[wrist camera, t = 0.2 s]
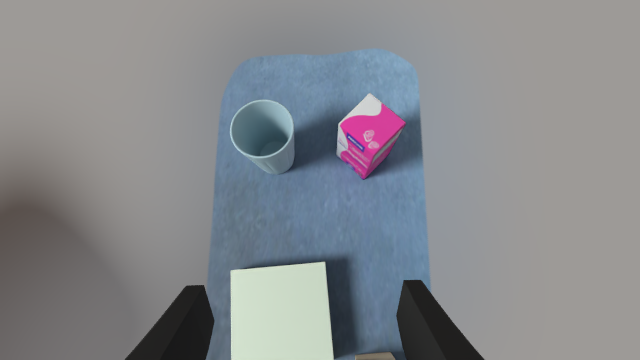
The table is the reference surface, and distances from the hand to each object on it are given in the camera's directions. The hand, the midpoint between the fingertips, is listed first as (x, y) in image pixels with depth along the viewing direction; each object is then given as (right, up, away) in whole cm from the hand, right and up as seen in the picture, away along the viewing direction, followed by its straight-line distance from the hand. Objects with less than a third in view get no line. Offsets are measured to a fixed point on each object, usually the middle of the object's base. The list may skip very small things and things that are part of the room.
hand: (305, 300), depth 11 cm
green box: (-4, -13, +29) cm, 32 cm away
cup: (-6, +8, +35) cm, 36 cm away
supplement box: (+7, +8, +34) cm, 36 cm away
